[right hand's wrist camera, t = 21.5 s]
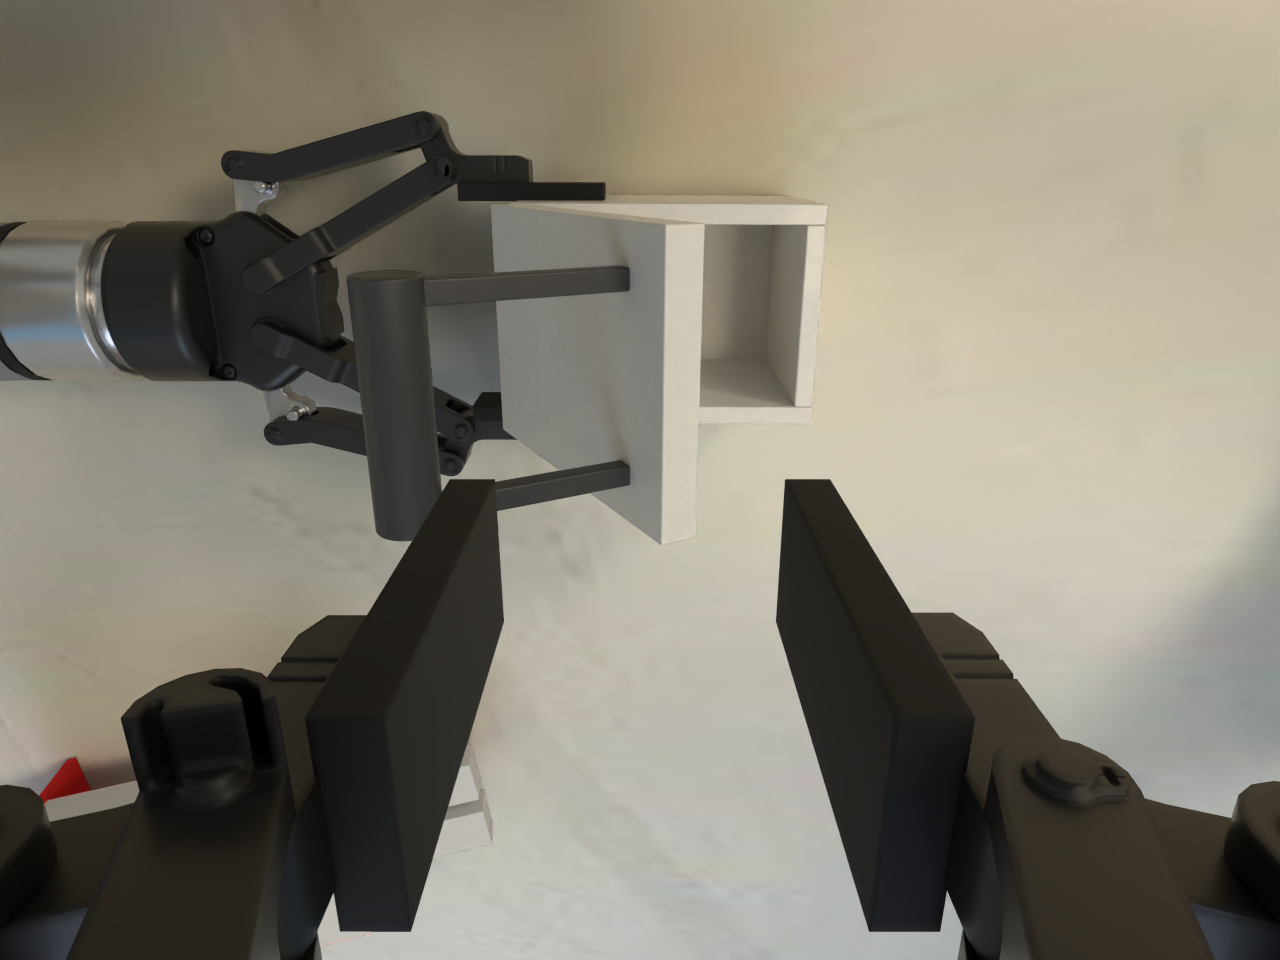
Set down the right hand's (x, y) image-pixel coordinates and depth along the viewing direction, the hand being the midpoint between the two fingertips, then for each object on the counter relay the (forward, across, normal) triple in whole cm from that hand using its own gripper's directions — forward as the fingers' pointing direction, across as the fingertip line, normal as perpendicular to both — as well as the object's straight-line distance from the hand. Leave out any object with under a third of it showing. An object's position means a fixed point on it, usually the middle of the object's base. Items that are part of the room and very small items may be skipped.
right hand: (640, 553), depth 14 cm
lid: (+17, -2, 0) cm, 17 cm away
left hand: (+28, -2, 0) cm, 28 cm away
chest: (+35, +1, 0) cm, 35 cm away
